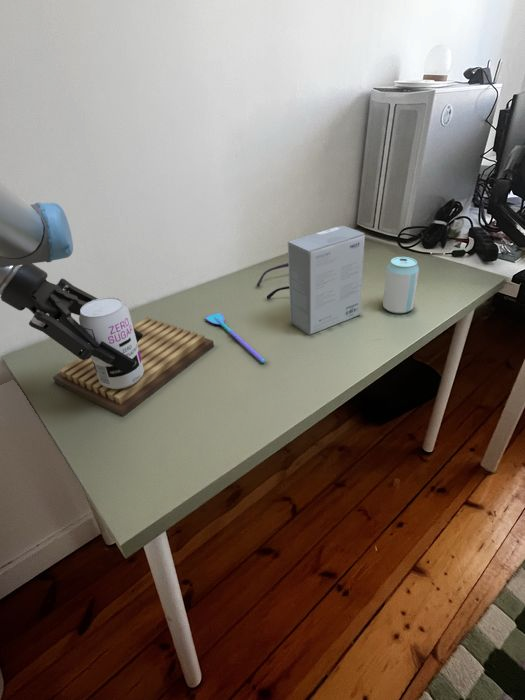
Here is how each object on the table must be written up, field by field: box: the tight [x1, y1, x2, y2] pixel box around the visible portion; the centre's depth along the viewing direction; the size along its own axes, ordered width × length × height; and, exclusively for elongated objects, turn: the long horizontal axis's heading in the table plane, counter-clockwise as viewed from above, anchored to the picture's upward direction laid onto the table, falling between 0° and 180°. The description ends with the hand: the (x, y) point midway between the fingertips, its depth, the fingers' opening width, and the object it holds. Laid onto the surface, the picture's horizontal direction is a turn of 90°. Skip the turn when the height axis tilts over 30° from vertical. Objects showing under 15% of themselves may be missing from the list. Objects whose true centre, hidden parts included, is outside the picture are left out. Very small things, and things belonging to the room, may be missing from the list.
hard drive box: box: [287, 225, 366, 336], centre depth 97 cm, size 16×8×20 cm, turn 123°
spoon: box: [205, 312, 266, 364], centre depth 97 cm, size 25×4×1 cm, turn 35°
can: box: [382, 256, 420, 315], centre depth 101 cm, size 7×7×12 cm
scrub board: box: [52, 316, 215, 417], centre depth 90 cm, size 26×20×3 cm
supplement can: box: [78, 296, 144, 389], centre depth 77 cm, size 8×8×15 cm
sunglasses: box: [256, 262, 289, 300], centre depth 116 cm, size 14×16×5 cm
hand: (135, 353), depth 78 cm, fingers closed on supplement can, 8 cm apart
